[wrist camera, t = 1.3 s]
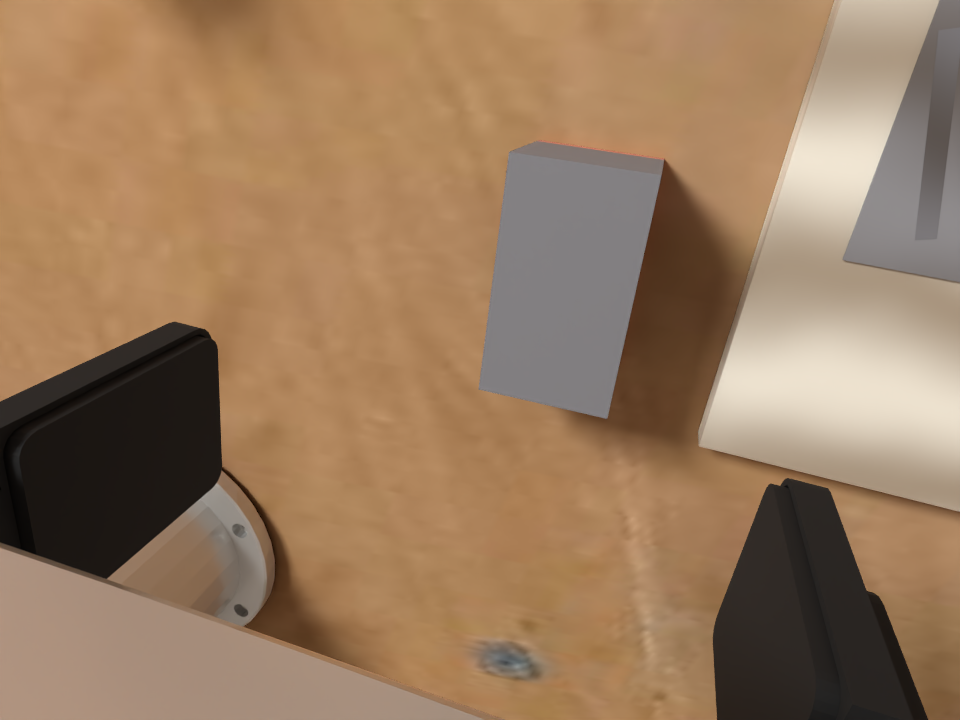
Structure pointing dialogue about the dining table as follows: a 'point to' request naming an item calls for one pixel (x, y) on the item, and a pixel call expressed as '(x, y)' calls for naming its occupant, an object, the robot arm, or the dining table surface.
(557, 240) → the block
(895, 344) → the board
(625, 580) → the dining table surface
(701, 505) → the dining table surface
